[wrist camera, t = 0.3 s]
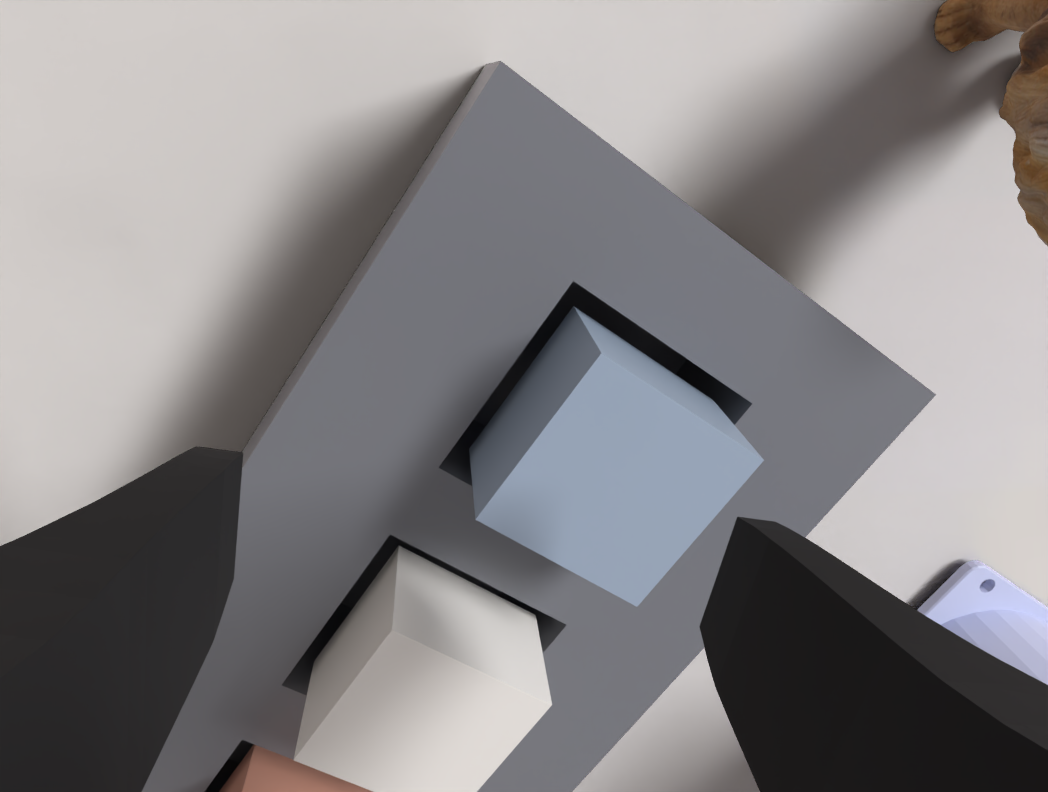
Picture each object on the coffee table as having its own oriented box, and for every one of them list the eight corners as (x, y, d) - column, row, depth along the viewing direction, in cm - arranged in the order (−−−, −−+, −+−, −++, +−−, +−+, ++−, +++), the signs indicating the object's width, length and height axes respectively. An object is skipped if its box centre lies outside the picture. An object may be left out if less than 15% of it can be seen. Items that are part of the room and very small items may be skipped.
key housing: (840, 333, 21) (935, 395, 17) (388, 862, 28) (380, 1000, 24) (485, 64, 18) (500, 60, 14) (58, 743, 24) (-20, 881, 20)
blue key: (712, 399, 17) (764, 460, 15) (607, 527, 19) (637, 606, 16) (573, 306, 16) (601, 352, 14) (469, 449, 17) (475, 519, 15)
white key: (535, 615, 19) (552, 704, 17) (448, 720, 20) (450, 821, 18) (398, 545, 18) (391, 629, 15) (313, 661, 19) (292, 760, 16)
